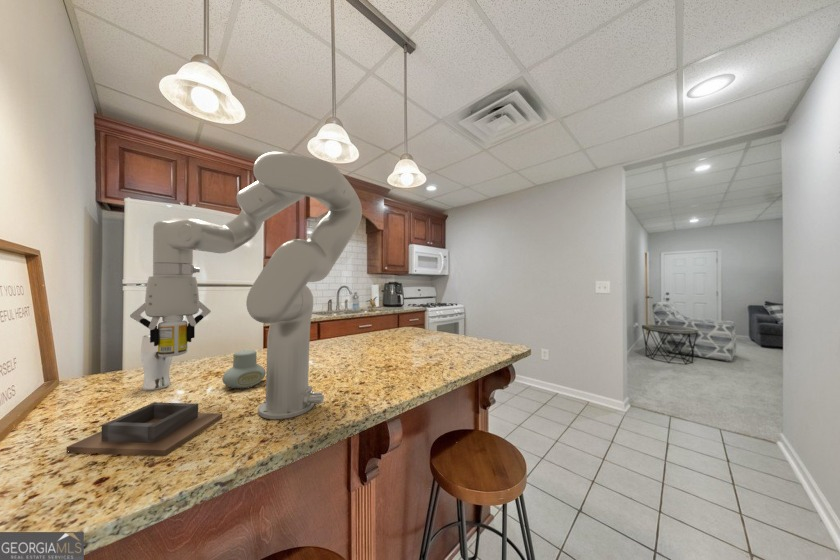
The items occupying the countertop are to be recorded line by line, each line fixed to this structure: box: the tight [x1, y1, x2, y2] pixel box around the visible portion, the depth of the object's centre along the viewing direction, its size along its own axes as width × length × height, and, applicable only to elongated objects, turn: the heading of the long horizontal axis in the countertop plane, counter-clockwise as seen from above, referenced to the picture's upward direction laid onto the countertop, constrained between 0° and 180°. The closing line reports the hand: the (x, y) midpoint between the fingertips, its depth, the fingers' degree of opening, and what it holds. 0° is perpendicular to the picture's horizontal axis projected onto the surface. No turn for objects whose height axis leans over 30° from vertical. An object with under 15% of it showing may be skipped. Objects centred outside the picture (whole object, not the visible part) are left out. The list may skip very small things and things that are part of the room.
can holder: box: [66, 401, 223, 457], centre depth 57 cm, size 18×14×4 cm
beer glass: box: [140, 334, 174, 392], centre depth 82 cm, size 7×7×15 cm
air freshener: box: [222, 349, 266, 390], centre depth 84 cm, size 11×8×10 cm
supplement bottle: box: [157, 315, 188, 357], centre depth 70 cm, size 6×6×10 cm
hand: (173, 342), depth 70 cm, fingers closed on supplement bottle, 5 cm apart
